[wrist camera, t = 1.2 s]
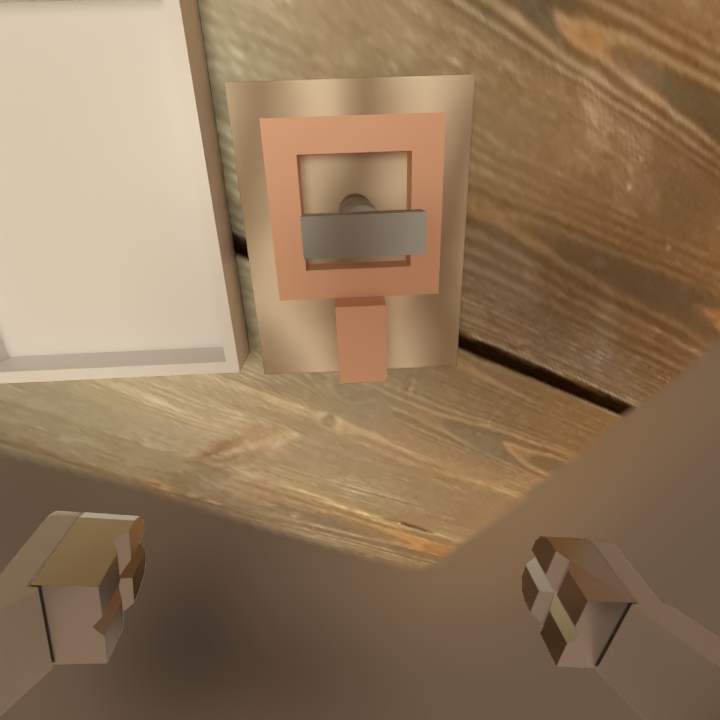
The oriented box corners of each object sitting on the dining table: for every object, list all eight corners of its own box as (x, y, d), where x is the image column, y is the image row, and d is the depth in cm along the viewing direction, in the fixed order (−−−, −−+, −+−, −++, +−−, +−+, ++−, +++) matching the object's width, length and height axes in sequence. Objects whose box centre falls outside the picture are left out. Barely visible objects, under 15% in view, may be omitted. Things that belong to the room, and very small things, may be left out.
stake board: (468, 79, 26) (572, 5, 14) (451, 357, 33) (512, 459, 21) (231, 87, 25) (137, 17, 14) (267, 365, 33) (227, 474, 21)
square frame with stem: (438, 116, 25) (454, 107, 21) (430, 354, 31) (441, 378, 27) (265, 122, 25) (252, 114, 21) (291, 360, 31) (284, 386, 27)
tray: (194, -16, 23) (171, -46, 20) (249, 351, 32) (239, 372, 29) (-139, -7, 23) (-216, -36, 20) (9, 362, 32) (-28, 384, 28)
